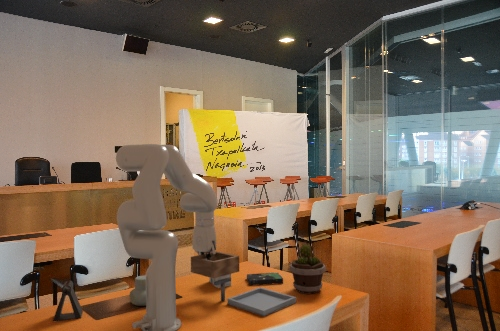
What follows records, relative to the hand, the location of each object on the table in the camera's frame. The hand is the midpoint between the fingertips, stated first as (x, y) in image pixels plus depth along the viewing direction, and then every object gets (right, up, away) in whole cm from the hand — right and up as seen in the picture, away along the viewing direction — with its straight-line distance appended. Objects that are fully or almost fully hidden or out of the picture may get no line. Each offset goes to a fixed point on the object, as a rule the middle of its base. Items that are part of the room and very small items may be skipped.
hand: (205, 268), depth 163 cm
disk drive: (+25, -11, +19) cm, 33 cm away
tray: (+23, -11, -10) cm, 27 cm away
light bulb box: (+5, -11, +16) cm, 20 cm away
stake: (+8, -11, -6) cm, 15 cm away
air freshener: (-23, -12, -8) cm, 27 cm away
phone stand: (-46, -12, -20) cm, 52 cm away
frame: (+4, 0, -4) cm, 6 cm away
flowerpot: (+42, -11, +5) cm, 44 cm away
